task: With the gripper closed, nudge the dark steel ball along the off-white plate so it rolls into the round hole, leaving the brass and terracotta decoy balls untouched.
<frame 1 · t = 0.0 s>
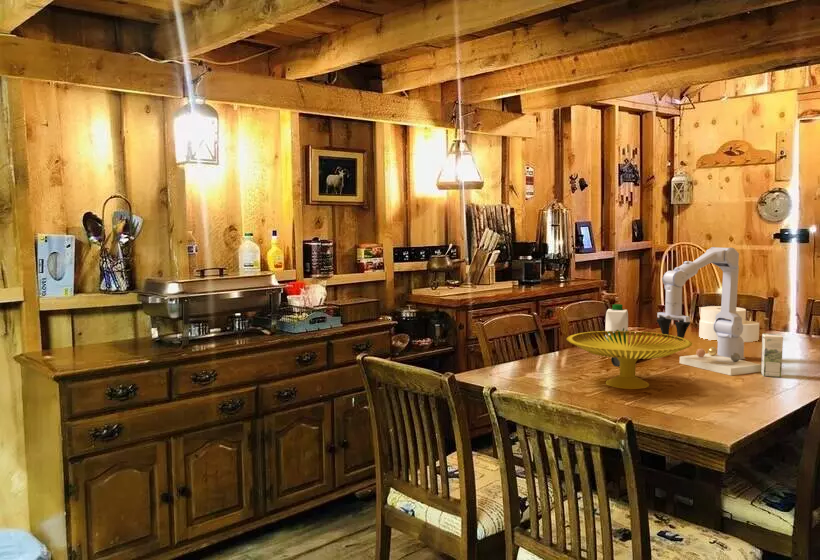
hand: (672, 338, 262), 10 cm above the table, fingers open, 7 cm apart
cake stand: (627, 384, 235), on the table
container: (728, 339, 320), on the table
syrup box: (771, 376, 244), on the table
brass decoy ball: (712, 351, 268), point 4 cm above the table, touching hole plate
milk carton: (616, 354, 287), on the table
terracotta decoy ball: (700, 352, 266), point 4 cm above the table, touching hole plate
hole plate: (719, 367, 259), on the table
flashlight: (629, 363, 270), on the table
steel ball: (735, 357, 256), point 4 cm above the table, touching hole plate
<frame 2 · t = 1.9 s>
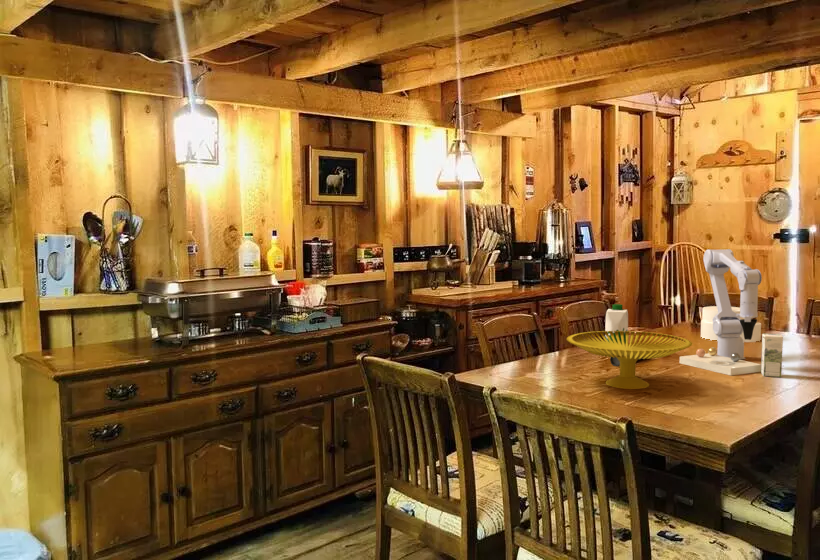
hand: (748, 339, 258), 10 cm above the table, fingers closed
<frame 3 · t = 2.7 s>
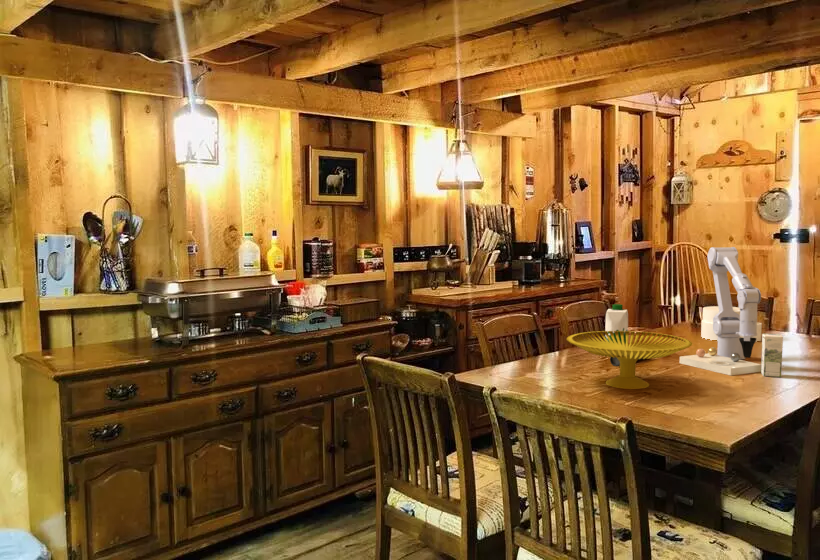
hand: (747, 357, 259), 3 cm above the table, fingers closed
nothing on the table moved.
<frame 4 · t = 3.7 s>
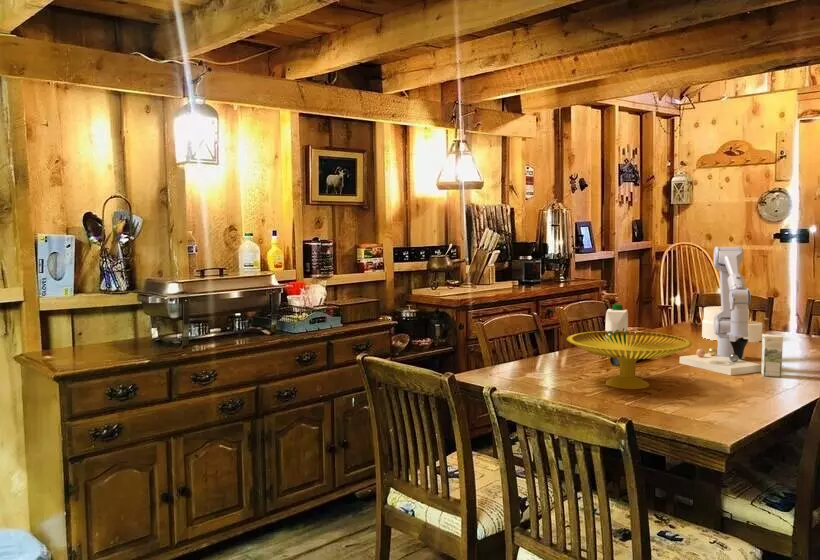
hand: (738, 358, 257), 4 cm above the table, fingers closed, pressing on steel ball
steel ball: (733, 357, 256), point 4 cm above the table, tilted 21°, touching gripper, hole plate
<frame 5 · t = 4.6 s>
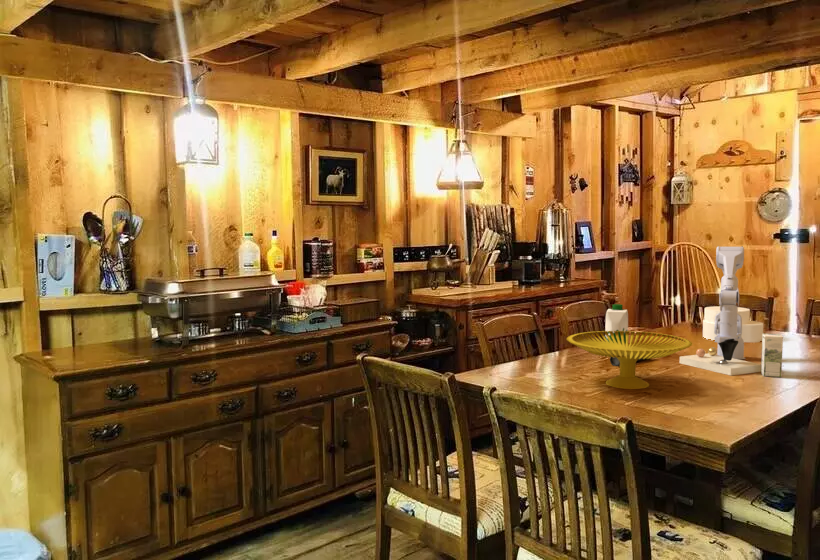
hand: (727, 360, 255), 3 cm above the table, fingers closed
steel ball: (723, 364, 254), point 2 cm above the table, tilted 165°
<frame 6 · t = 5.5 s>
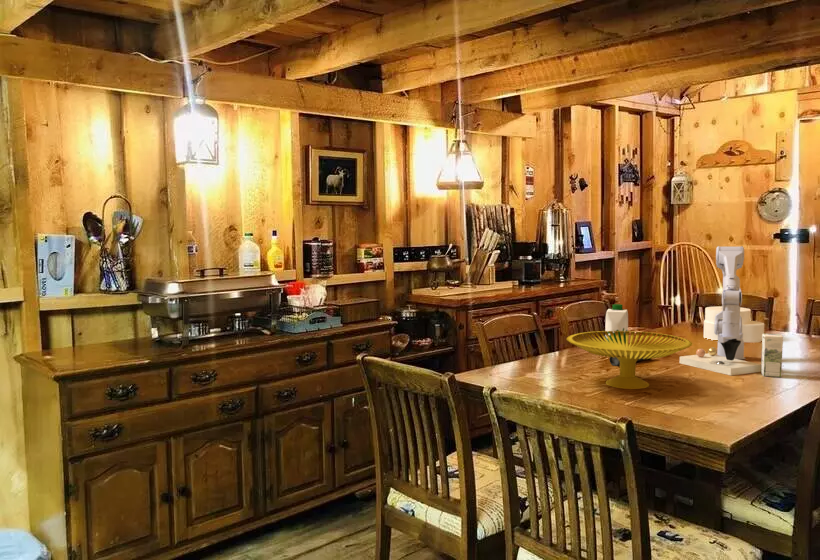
hand: (730, 359, 255), 3 cm above the table, fingers closed
steel ball: (720, 365, 254), point 2 cm above the table, tilted 127°
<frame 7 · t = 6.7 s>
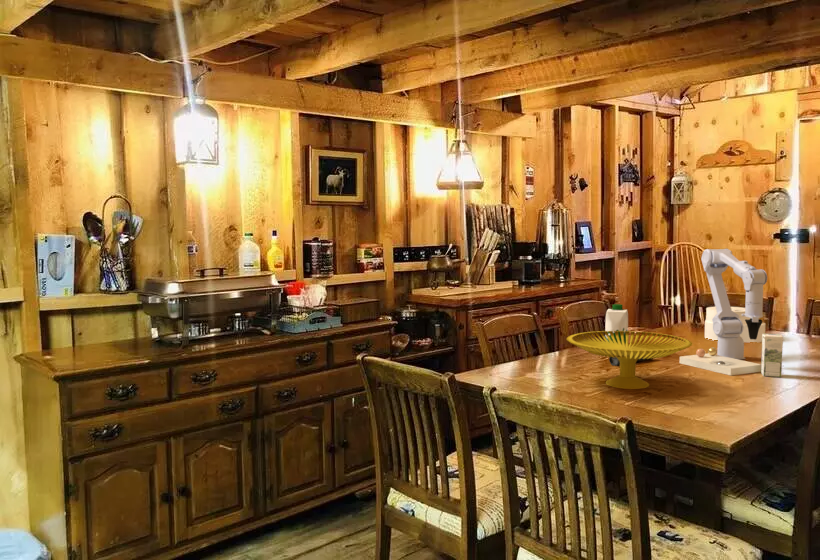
hand: (753, 339, 258), 10 cm above the table, fingers closed
steel ball: (721, 365, 254), point 2 cm above the table, tilted 137°
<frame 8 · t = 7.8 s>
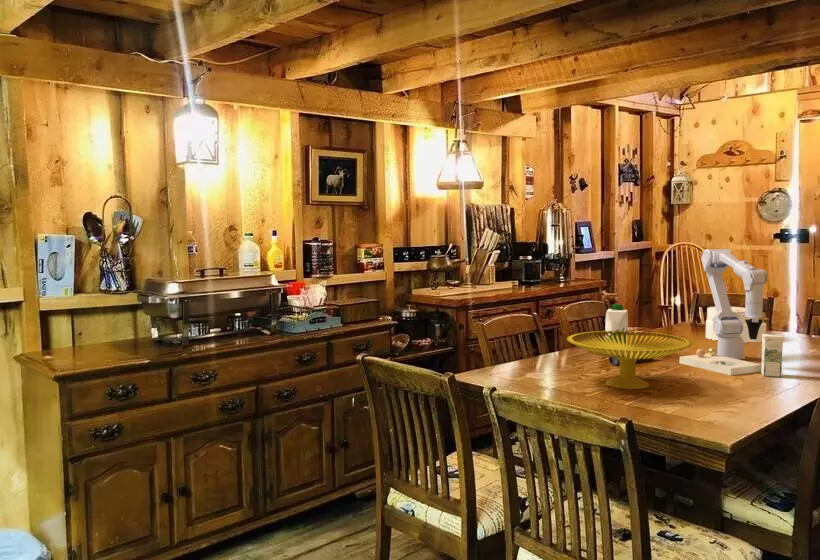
hand: (753, 339, 258), 10 cm above the table, fingers closed
steel ball: (721, 365, 254), point 2 cm above the table, tilted 145°
at the end: steel ball 0.1 cm from the target spot on the hole plate, point 1.6 cm above the hole plate's base; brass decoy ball moved 0.0 cm from its start; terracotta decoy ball moved 0.0 cm from its start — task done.
